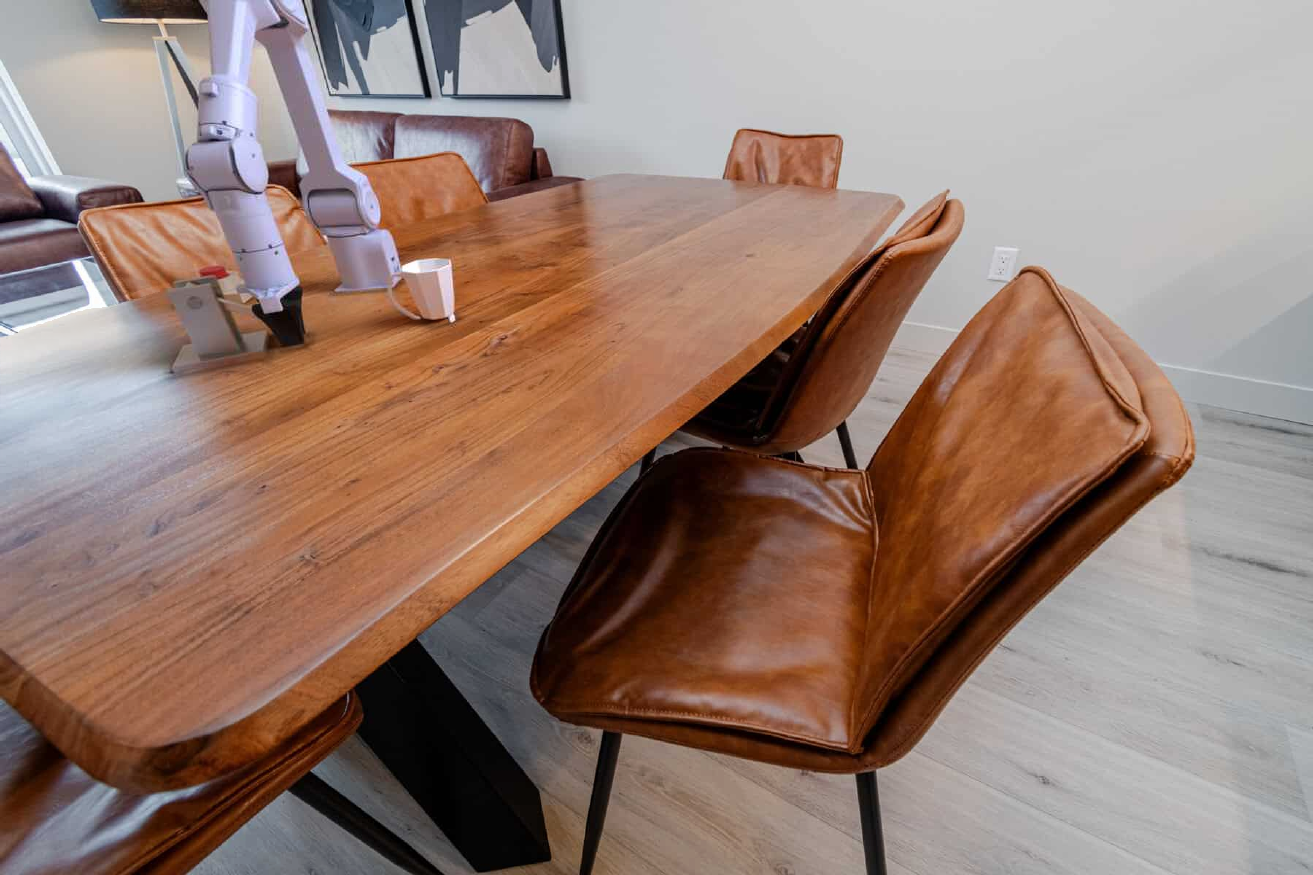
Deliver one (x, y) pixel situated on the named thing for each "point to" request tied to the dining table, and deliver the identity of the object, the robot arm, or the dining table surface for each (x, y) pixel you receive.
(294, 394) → the dining table surface
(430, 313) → the cup
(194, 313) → the bracket
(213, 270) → the button
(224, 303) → the lever
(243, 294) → the control block
